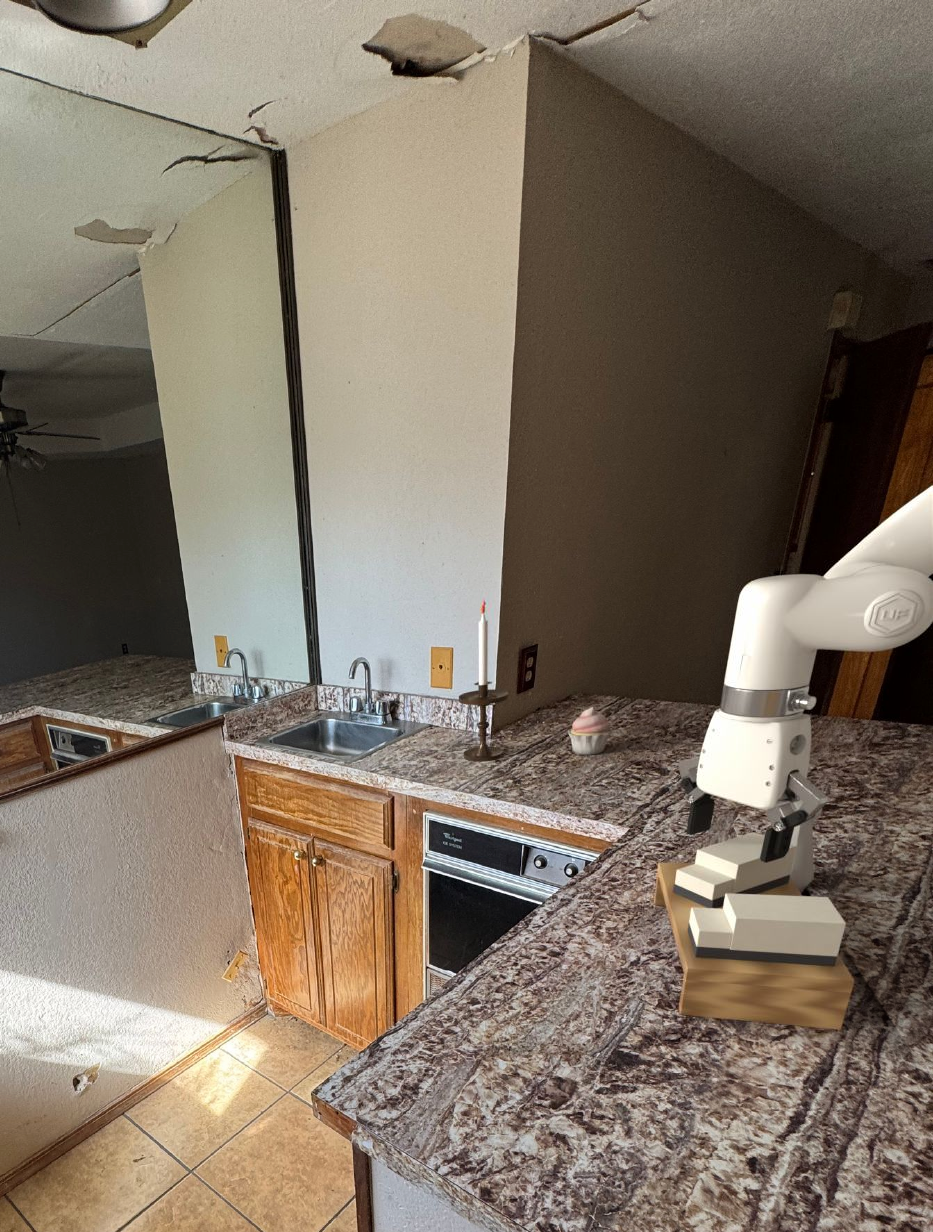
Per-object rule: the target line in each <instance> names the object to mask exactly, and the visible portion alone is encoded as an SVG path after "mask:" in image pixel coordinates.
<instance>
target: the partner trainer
mask: <svg viewBox="0 0 933 1232" xmlns="http://www.w3.org/2000/svg"><path fill="white" fill-rule="evenodd" d="M846 925H847V923H846V921H845V920H844V918H843V917H842V915H841V914H840V912H839V911H838V910H837V908H836V907H835V905H834V903H833V902H832V900H831V899H830V898H829V897H828V896H810V895H809V896H807V895H802V896H783V895H756V894H729V893H726V894H725V900H724V905H723V909H718V908H695V907H692V908H691V913H690V920H689V924H688V934H689V938H690V941H691V944H692V948H693V951H694V954H695V957H701V958H716V959H730V960H745V961H760V962H775V963H789V964H804V965H819V966H835V962H836V959H837V956H838V954H839V952H840V947H841V945H842V941H843V937H844V934H845V930H846Z"/></svg>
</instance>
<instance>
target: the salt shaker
mask: <svg viewBox="0 0 933 1232" xmlns="http://www.w3.org/2000/svg"><path fill="white" fill-rule="evenodd" d="M793 803H794V805H795V807H796V809H797V811H798V810H799V809H800V808H801V806H802V804H803V800H802V799H801V800H800V801H797V802H793ZM779 810H780V812H781V814H782V816H783V818H784V817H785V816H784V814H783V813H782V811H781V809H780V808H779ZM822 812H823V807H822V808H821V809H820V810H819V811H818V812H817V813H816V814H815V816H814V817H813V818H811V819H810V820H808V821H806V822H804V823H802V824H801V825H799V826H796V827H794V831H793V835H792V839H791V843H790V844H792V845H795V846H796V851H795V855H794V860H793V864H792V869H791V874H790V877H791V879H792V880H793V882H794V883H795V885H796V887H797V888H798V890H799V891H800V893H801V894H802V893H803V892H804V890H806V888H807V887H808V886H809V884H811V883H812V881H813V880H814V878H815V874H814V872H815V870H814V869H815V868H814V866H815V865H814V864H815V863H814V837H813V836H814V832H813V831H814V828H813V827H814V821H817V820H818V819H819V818H820V816H821V815H822Z"/></svg>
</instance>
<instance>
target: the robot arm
mask: <svg viewBox="0 0 933 1232" xmlns="http://www.w3.org/2000/svg"><path fill="white" fill-rule="evenodd" d="M931 575H933V484H932V485H931V486H929V487H928V488H926V489H925V490H924V491H922V492H921V493H919V494H918V495H917V496H915V497H914V498H913V499H911V500H910V501H908V502H907V503H906V504H904V505H903V506H902V507H900V508H899V509H898V510H896V511H895V512H894V513H892V514H891V515H890V516H889V517H888V518H886V519H885V520H883V522H881V524H879V525H878V526H877V527H876V528H875V529H873V530H872V531H871V532H870V533H869V534H868V535H867V536H865V537H864V538H863V539H862V540H861V541H860V542H859V543H858V544H857V545H855V546H854V547H853V548H852V549H851V550H850V551H848V552H847V553H846V554H845V555H844V556H843V557H842V558H840V560H838V562H836V563H835V564H834V565H833V566H832V567H831V568H830V569H829V570H828V571H827V572H826V573H825V574H824V575H823V576H822V575H819V574H809V573H807V574H806V573H798V574H782V575H781V574H780V575H773V576H766V577H761V578H757V579H754V580H751V581H750V582H748V583H747V584H745V586H744V587H743V588H742V590H741V591H740V593H739V597H738V601H737V606H736V611H735V618H734V623H733V630H732V636H731V640H730V647H729V652H728V658H727V664H726V665H727V666H726V670H725V675H724V682H723V687H722V693H721V698H720V704H719V708H716V709H715V711H714V712H713V715H712V717H711V720H710V722H709V725H708V727H707V730H706V734H705V736H704V740H703V743H702V747H701V751H700V755H698V756H695V757H691V758H688V759H685V760H684V759H683V760H682V761H681V760H680V761H679V762H678V764H677V768H678V771H679V775H680V778H682V779H681V782H680V783H681V786H682V788H683V789H684V791H685V793H686V796H685V797H686V798H685V799H686V802H688V803H689V804H690V805H689V810H688V818H687V826H686V834H687V835H689V836H694V835H698V834H700V833H704V832H707V831H710V830H711V828H712V822H713V817H714V810H715V806H716V805H715V804H716V802H715V801H716V799H713V798H712V797H713V796H714V797H717V798H720V799H724V800H726V801H730V802H733V803H737V804H740V805H743V806H747V807H751V808H754V809H757V810H762V811H764V813H765V815H766V817H767V819H768V822H769V823H770V825H771V827H769V828H767V829H766V830H765V832H764V836H765V837H764V842H763V846H762V851H761V855H760V859H761V861H763V862H765V863H767V862H771V861H774V860H777V859H780V858H783V857H785V855H786V854H787V853H788V851H789V848H790V843H791V839H792V835H793V831H794V827H796V826H799V825H801V824H802V823H804V822H806V821H808V820H810V819H811V818H813V817H814V816H815V814H816V813H817V812H818V811H819V810H820V809H821V808H822V809H823V808H824V807H825V805H826V804H827V803H828V802H829V797H828V796H827V795H826V794H825V793H824V792H823V791H822V790H820V789H819V788H818V787H817V786H816V785H814V784H813V783H812V782H810V781H809V780H808V773H809V768H810V767H809V766H810V759H811V750H812V723H811V722H812V721H811V715H810V714H806V713H804V711H805V710H807V711H809V710H812V709H814V707H815V706H816V703H817V697H816V696H813V695H810V694H809V690H810V681H811V677H812V673H813V669H814V664H815V661H816V656H817V652H818V650H828V651H829V650H832V651H846V652H861V653H862V652H863V653H870V652H871V653H872V652H874V653H875V652H882V651H888V650H893V649H895V648H898V647H900V646H903V645H906V644H908V643H910V642H911V641H913V640H915V639H916V638H918V637H919V636H920V635H922V634H923V633H924V632H925V631H926V630H927V629H928V628H929V627H930V626H931V624H933V580H932V579H931V578H929V577H930V576H931ZM801 799H802V800H803V804H802V806H801V808H800V809H799V810H798V811H797V809H796V807H795V805H794V803H793V802H797V801H800V800H801ZM780 809H781V811H782V813H783V814H784V816H785V817H784V818H783V816H782V814H781V812H780Z"/></svg>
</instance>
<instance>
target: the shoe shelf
mask: <svg viewBox="0 0 933 1232" xmlns="http://www.w3.org/2000/svg"><path fill="white" fill-rule="evenodd" d="M693 864H695V862H693V863H692V862H662V861H661V862H658V863H657V871H656V880H655V886H654V894H653V904H654V906H662V907H663V906H664V907H665V908H666V910H667V914H668V918H669V923H670V925H671V929H672V934H673V937H674V941H675V944H676V945H675V946H676V949H677V952H678V956H679V960H680V965H681V967H682V971H683V978H682V984H681V990H680V996H679V1004H678V1011H679V1015H680V1016H681V1015H682V1016H690V1017H700V1018H701V1017H702V1018H711V1019H712V1018H713V1019H722V1020H723V1019H724V1020H733V1021H744V1022H753V1023H762V1024H763V1023H765V1024H774V1025H784V1026H785V1025H786V1026H796V1027H805V1028H806V1027H807V1028H817V1029H825V1030H827V1029H828V1030H836V1031H837V1030H838V1031H841V1030H842V1027H843V1023H844V1020H845V1016H846V1012H847V1009H848V1006H849V1004H850V1003H849V1002H850V999H851V995H852V992H853V989H854V985H855V982H856V981H855V978H854V977H853V976H852V973H851V972H850V971H849V969H848V967H847V966H846V964H845V963H844V961H843V959H842V957H841V956H840V954H839V953H838V956H837V959H836V962H835V966H819V965H804V964H789V963H775V962H760V961H745V960H730V959H716V958H701V957H695V954H694V951H693V948H692V944H691V941H690V938H689V934H688V924H689V920H690V913H691V908H692V907H695V908H707V907H705V906H702V905H700V904H698V903H696V902H694V901H691V900H689V899H687V898H685V897H682V896H680V895H678V894H676V893H674V892H673V887H674V884H675V879H676V872H677V869H681V868H684V867H687V866H690V865H693ZM756 895H783V896H803V894H802V893H800V891H799V890H798V888H797V887H796V885H795V883H794V882H793V880H792V879H791V877H790V878H789V883H788V884H785V885H782V886H779V887H776V888H773V889H770V890H767V891H765V892H762V893H759V894H756ZM718 909H723V906H721V907H718Z"/></svg>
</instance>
